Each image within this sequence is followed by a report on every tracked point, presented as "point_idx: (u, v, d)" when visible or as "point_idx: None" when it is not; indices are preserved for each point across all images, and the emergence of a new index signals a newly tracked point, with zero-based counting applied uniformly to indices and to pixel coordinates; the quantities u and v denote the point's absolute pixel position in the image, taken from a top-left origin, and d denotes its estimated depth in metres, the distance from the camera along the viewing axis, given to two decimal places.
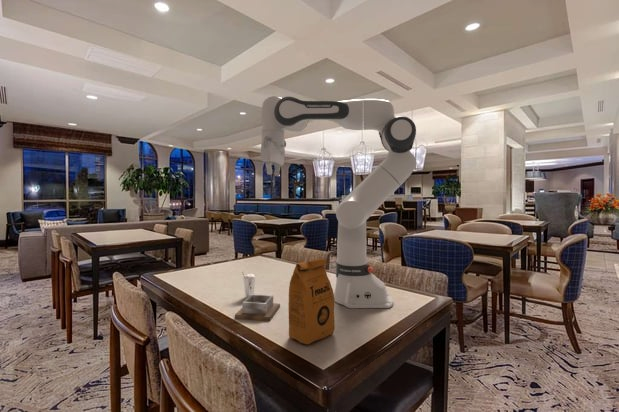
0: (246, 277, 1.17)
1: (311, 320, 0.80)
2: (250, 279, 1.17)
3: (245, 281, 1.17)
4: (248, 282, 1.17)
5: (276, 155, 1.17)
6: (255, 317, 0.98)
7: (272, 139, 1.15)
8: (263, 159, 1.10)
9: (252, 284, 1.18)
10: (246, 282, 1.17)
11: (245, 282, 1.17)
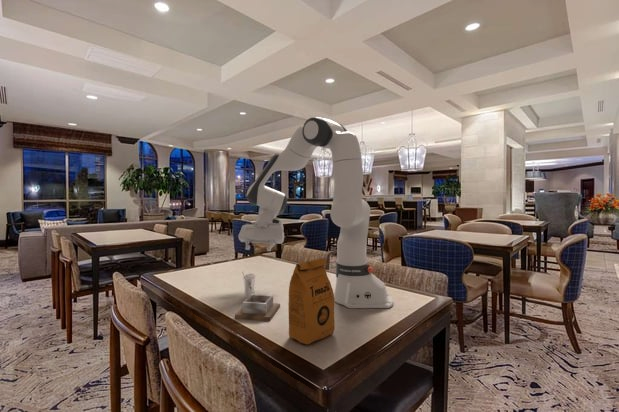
0: (246, 277, 1.17)
1: (311, 320, 0.80)
2: (250, 279, 1.17)
3: (245, 281, 1.17)
4: (248, 282, 1.17)
5: (256, 233, 1.34)
6: (255, 317, 0.98)
7: None
8: (239, 239, 1.36)
9: (252, 284, 1.18)
10: (246, 282, 1.17)
11: (245, 282, 1.17)
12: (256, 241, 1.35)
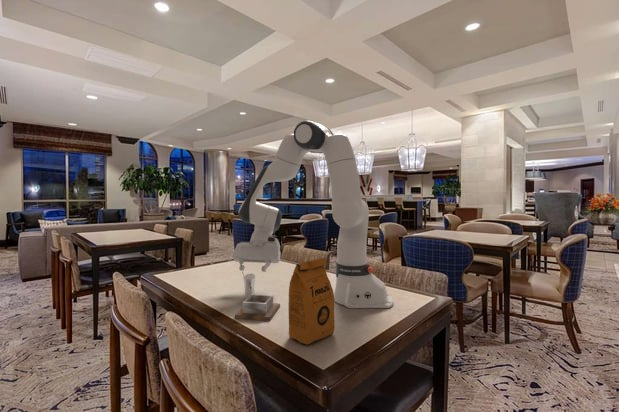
0: (246, 277, 1.17)
1: (311, 320, 0.80)
2: (250, 279, 1.17)
3: (245, 281, 1.17)
4: (248, 282, 1.17)
5: (251, 252, 1.27)
6: (255, 317, 0.98)
7: None
8: None
9: (252, 284, 1.18)
10: (246, 282, 1.17)
11: (245, 282, 1.17)
12: (251, 261, 1.28)
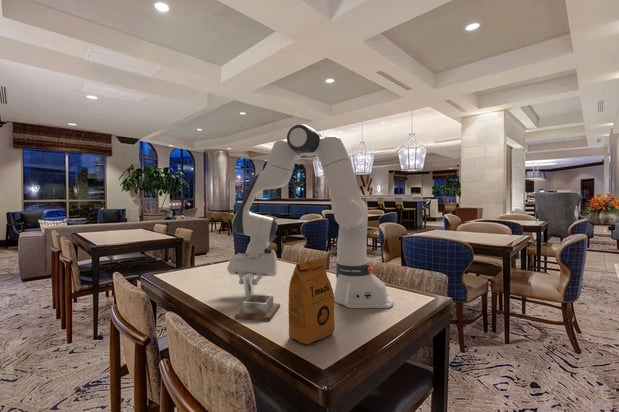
0: (245, 277, 1.17)
1: (311, 320, 0.80)
2: (249, 278, 1.17)
3: (244, 281, 1.17)
4: (247, 282, 1.17)
5: (247, 265, 1.22)
6: (255, 317, 0.98)
7: None
8: None
9: (251, 283, 1.18)
10: (245, 282, 1.17)
11: (244, 282, 1.17)
12: (247, 273, 1.23)
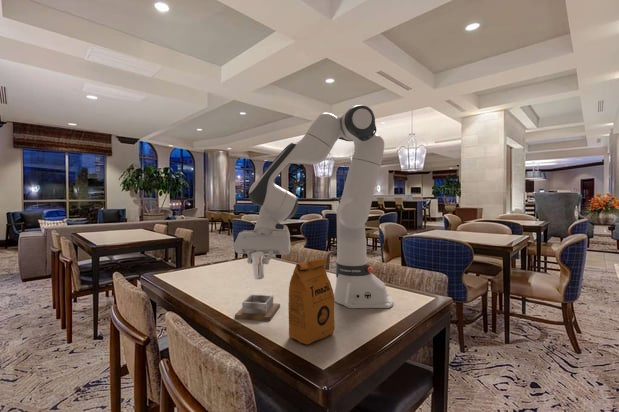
0: (254, 255, 1.01)
1: (311, 320, 0.80)
2: (259, 256, 1.01)
3: (253, 259, 1.02)
4: (256, 261, 1.01)
5: (256, 242, 1.07)
6: (255, 317, 0.98)
7: None
8: (235, 250, 1.08)
9: (261, 262, 1.02)
10: (254, 260, 1.01)
11: (253, 260, 1.02)
12: None
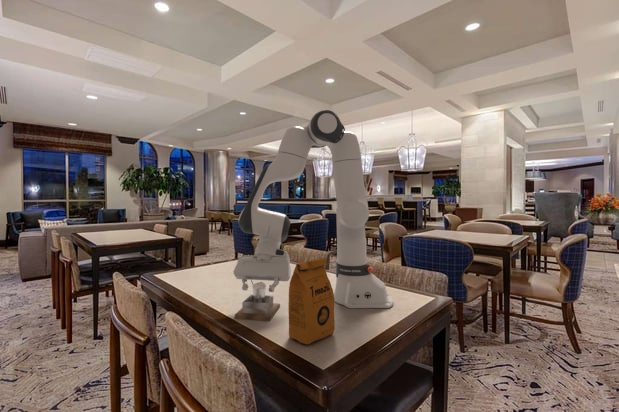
0: (255, 286, 1.02)
1: (311, 320, 0.80)
2: (260, 288, 1.01)
3: (254, 291, 1.02)
4: (257, 292, 1.01)
5: (256, 268, 1.07)
6: (255, 317, 0.98)
7: (254, 255, 1.12)
8: (235, 276, 1.09)
9: (262, 294, 1.02)
10: (255, 292, 1.01)
11: (254, 292, 1.02)
12: (256, 278, 1.07)
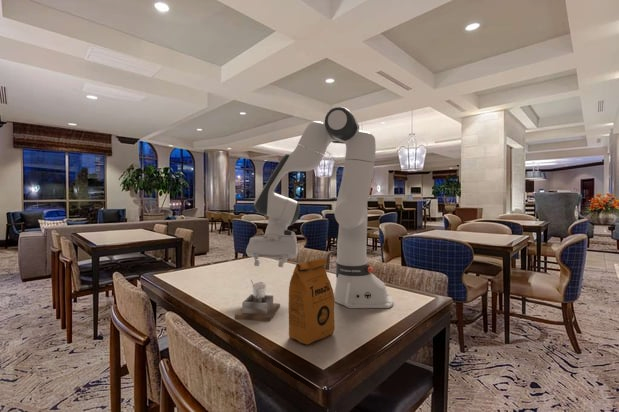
0: (255, 286, 1.02)
1: (311, 320, 0.80)
2: (260, 288, 1.01)
3: (254, 291, 1.02)
4: (257, 292, 1.02)
5: (266, 247, 1.18)
6: (255, 317, 0.98)
7: (264, 235, 1.23)
8: (247, 254, 1.20)
9: (262, 294, 1.02)
10: (255, 292, 1.02)
11: (254, 292, 1.02)
12: (266, 256, 1.19)
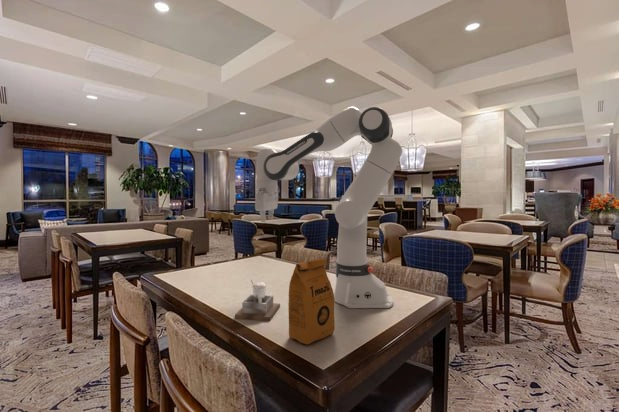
0: (255, 286, 1.02)
1: (311, 320, 0.80)
2: (260, 288, 1.01)
3: (254, 291, 1.02)
4: (257, 292, 1.02)
5: (269, 203, 1.27)
6: (255, 317, 0.98)
7: (266, 189, 1.24)
8: (257, 210, 1.19)
9: (262, 294, 1.02)
10: (255, 292, 1.02)
11: (254, 292, 1.02)
12: None
